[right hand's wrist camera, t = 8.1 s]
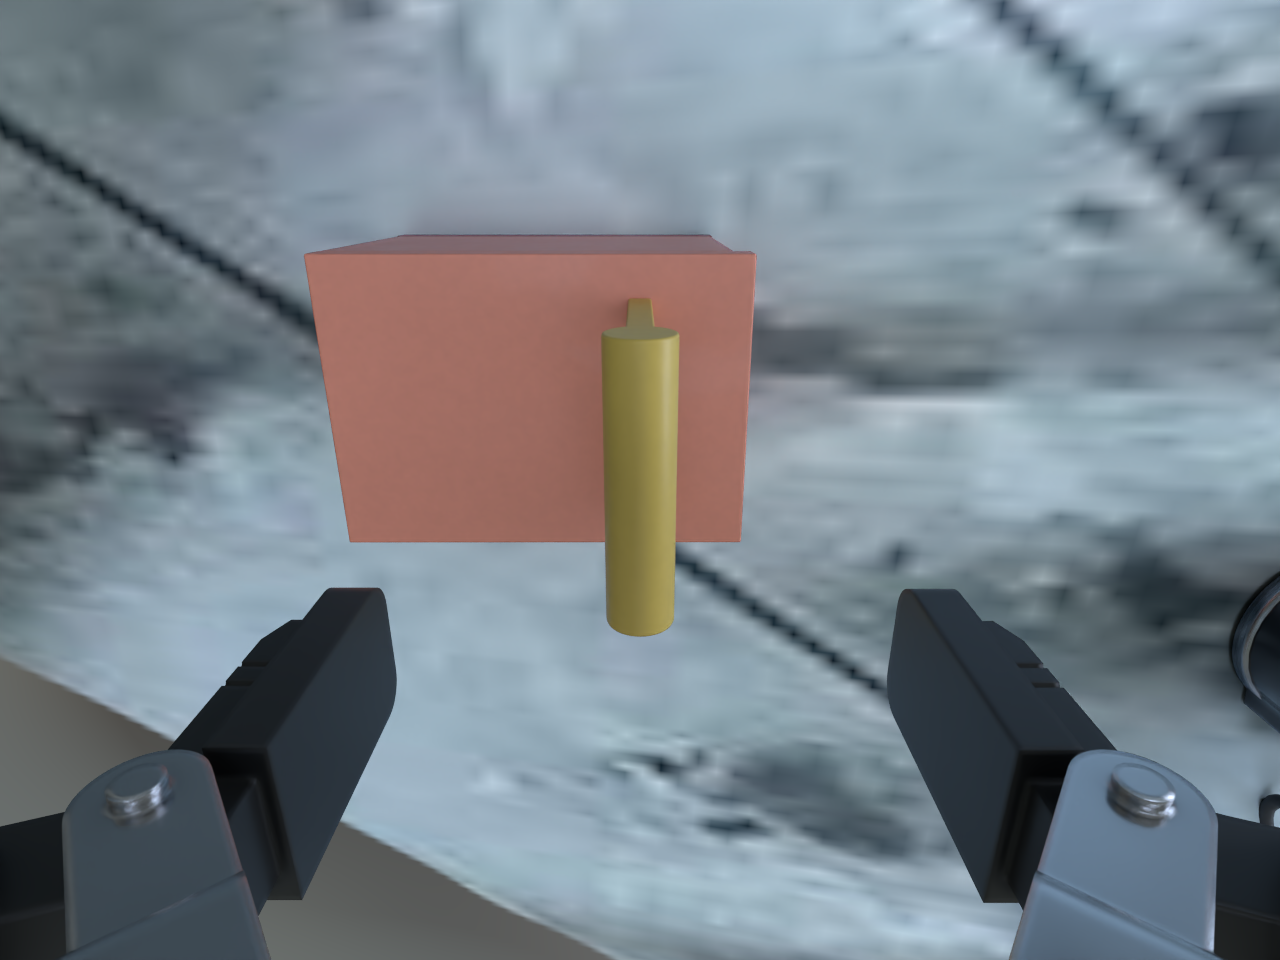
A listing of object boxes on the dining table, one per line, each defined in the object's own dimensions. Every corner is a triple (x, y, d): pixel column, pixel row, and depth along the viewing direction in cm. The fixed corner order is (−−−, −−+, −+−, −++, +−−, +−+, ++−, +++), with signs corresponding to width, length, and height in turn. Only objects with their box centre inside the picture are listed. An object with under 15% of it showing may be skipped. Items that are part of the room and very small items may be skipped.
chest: (709, 234, 31) (735, 250, 23) (702, 447, 34) (722, 529, 26) (403, 234, 31) (317, 250, 23) (427, 447, 34) (360, 529, 26)
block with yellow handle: (752, 251, 23) (812, 283, 15) (737, 529, 26) (779, 676, 18) (317, 251, 23) (145, 283, 15) (360, 529, 26) (238, 677, 18)
